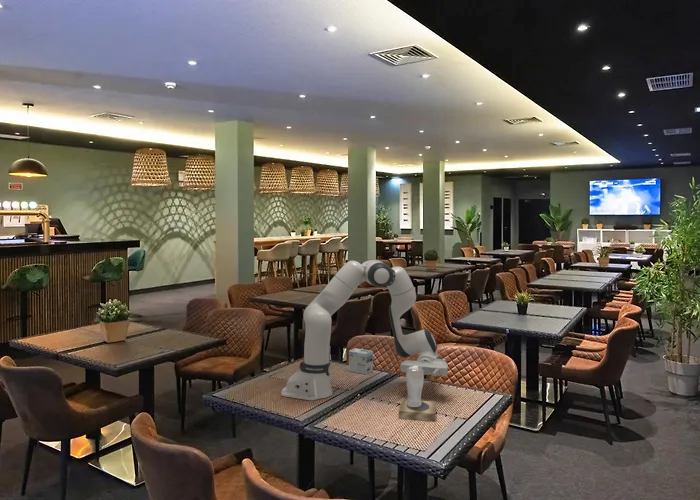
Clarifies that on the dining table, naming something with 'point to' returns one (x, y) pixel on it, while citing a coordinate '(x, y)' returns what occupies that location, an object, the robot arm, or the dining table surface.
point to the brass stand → (418, 411)
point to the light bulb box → (360, 361)
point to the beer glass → (414, 385)
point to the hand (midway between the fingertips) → (422, 373)
